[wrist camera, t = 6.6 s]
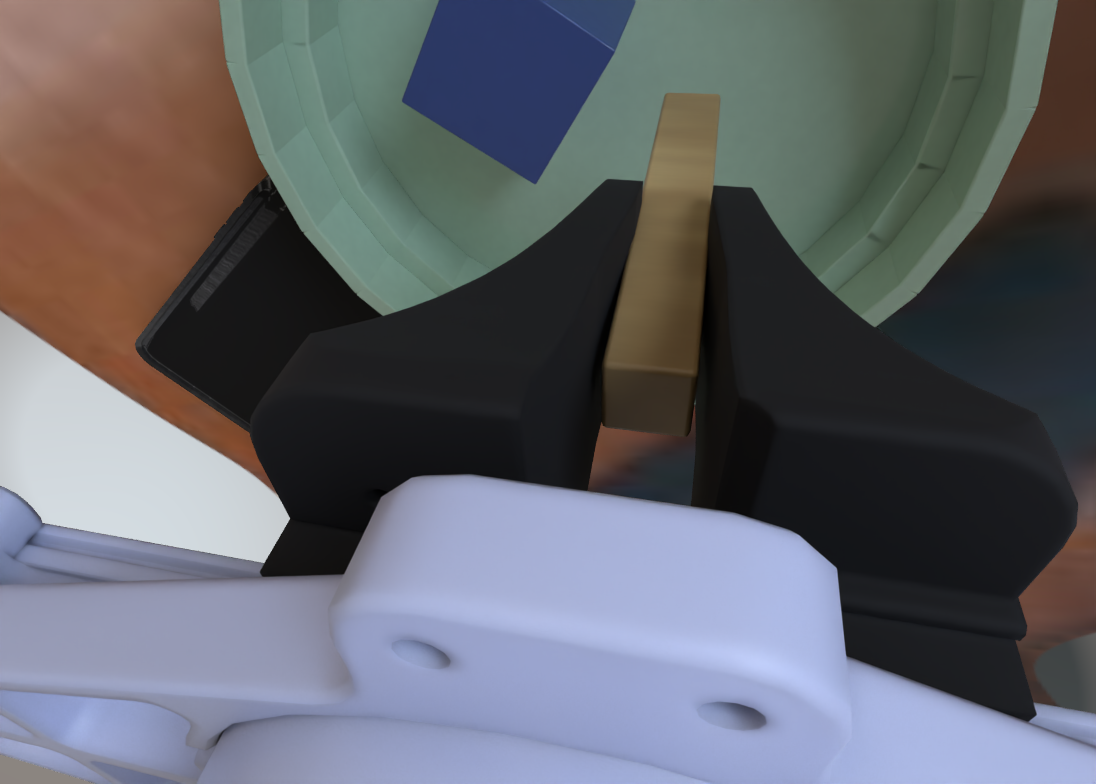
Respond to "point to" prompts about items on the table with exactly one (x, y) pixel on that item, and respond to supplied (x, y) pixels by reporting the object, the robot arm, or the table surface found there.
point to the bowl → (653, 132)
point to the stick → (665, 278)
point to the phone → (248, 308)
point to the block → (514, 72)
